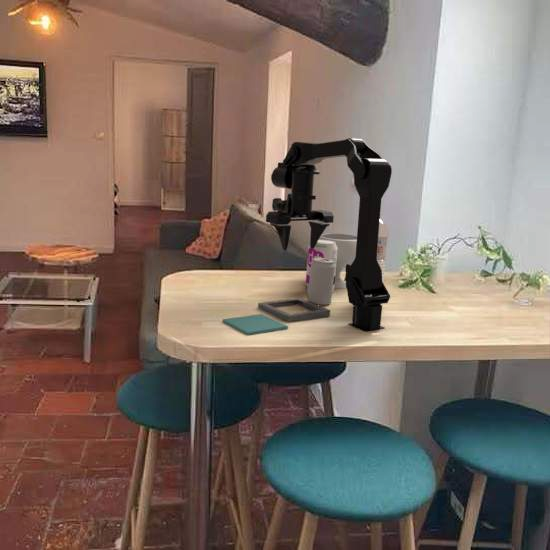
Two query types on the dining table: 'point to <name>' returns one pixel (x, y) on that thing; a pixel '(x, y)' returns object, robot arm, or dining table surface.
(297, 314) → the gray square frame
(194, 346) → the dining table surface
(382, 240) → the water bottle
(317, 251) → the supplement can
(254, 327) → the teal mat
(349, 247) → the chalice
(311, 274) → the beverage can
